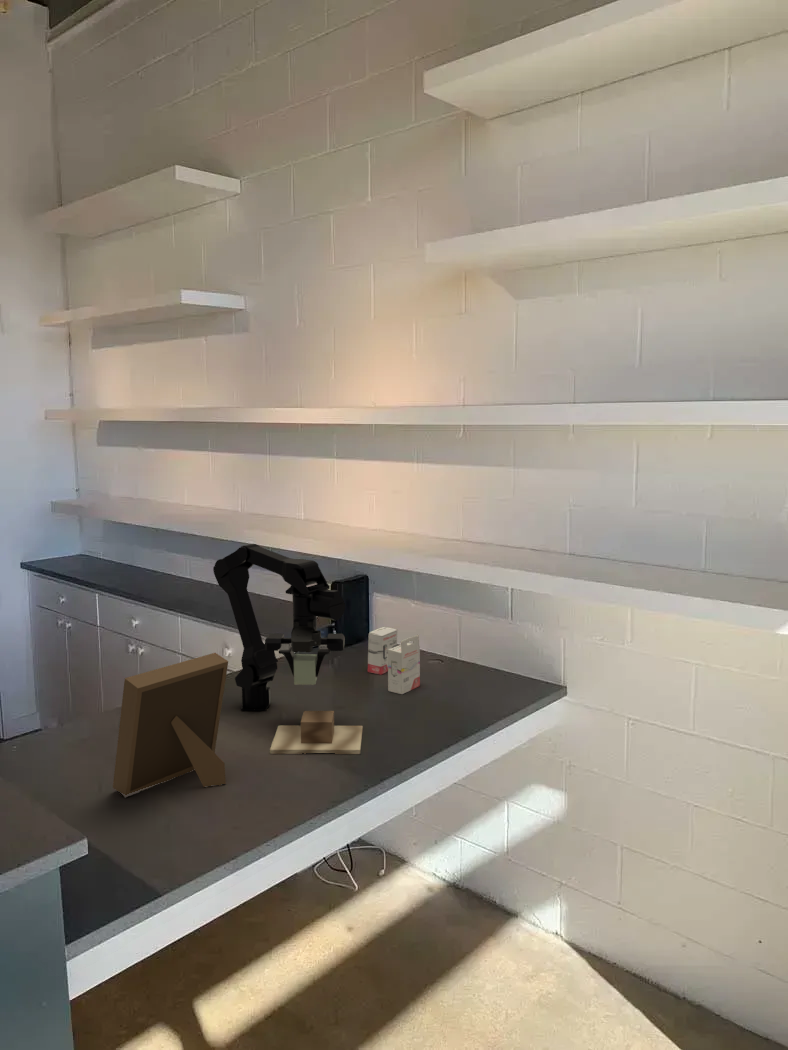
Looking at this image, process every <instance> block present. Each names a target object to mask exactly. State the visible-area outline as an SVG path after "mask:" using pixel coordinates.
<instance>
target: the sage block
mask: <svg viewBox="0 0 788 1050" xmlns="http://www.w3.org/2000/svg"><path fill="white" fill-rule="evenodd" d="M294 656H295V659H294V677H293V684H294V686H315V685H316V683H317V680H318V677H316V664H317V654H312V653H311V654H307V653H305V654H304V653H303V654H301V653H300V654H299V653H297V654H295V655H294Z"/></svg>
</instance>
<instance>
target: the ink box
mask: <svg viewBox="0 0 788 1050" xmlns="http://www.w3.org/2000/svg"><path fill="white" fill-rule="evenodd" d="M367 643H368V645H367V647H368V648H367V649H368V651H367V673H370V674H371V673H372V674H375V675H381V676H382V675H383V674H386V673H388V649H391V648H393V647H396V646H398V629H397V628H393V627H389V626H382V627H379V628H377V629H374V630H372V631H371V630H370V631H369V633H368V641H367Z"/></svg>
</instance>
